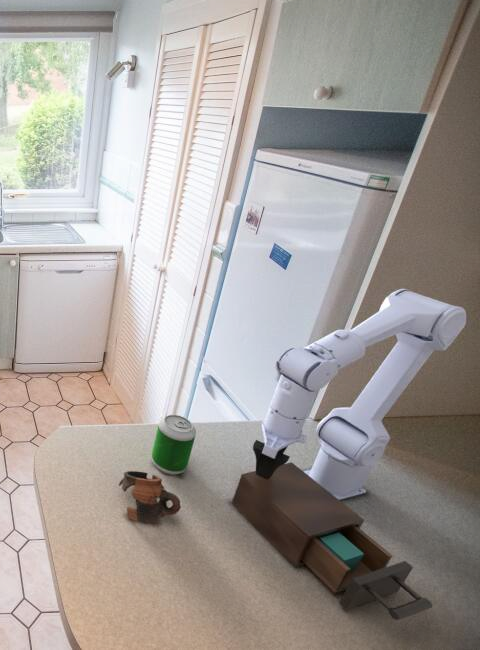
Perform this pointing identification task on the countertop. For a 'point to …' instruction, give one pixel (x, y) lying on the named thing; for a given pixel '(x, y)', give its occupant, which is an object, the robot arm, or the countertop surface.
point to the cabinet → (291, 509)
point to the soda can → (173, 444)
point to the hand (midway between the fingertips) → (267, 465)
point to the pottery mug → (148, 497)
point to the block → (343, 550)
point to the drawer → (363, 574)
